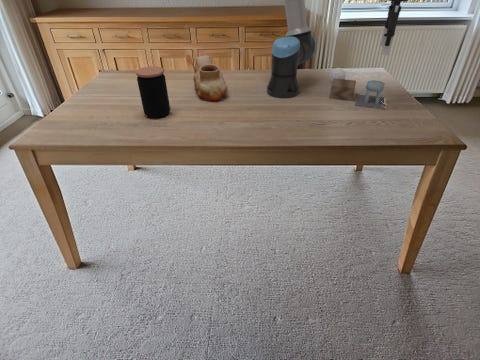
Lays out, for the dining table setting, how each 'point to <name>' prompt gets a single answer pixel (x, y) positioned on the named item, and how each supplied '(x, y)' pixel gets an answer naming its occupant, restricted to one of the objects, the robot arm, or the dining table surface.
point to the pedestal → (342, 89)
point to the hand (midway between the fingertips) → (383, 50)
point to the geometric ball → (337, 74)
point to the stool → (374, 89)
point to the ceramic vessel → (208, 80)
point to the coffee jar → (153, 92)
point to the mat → (369, 101)
